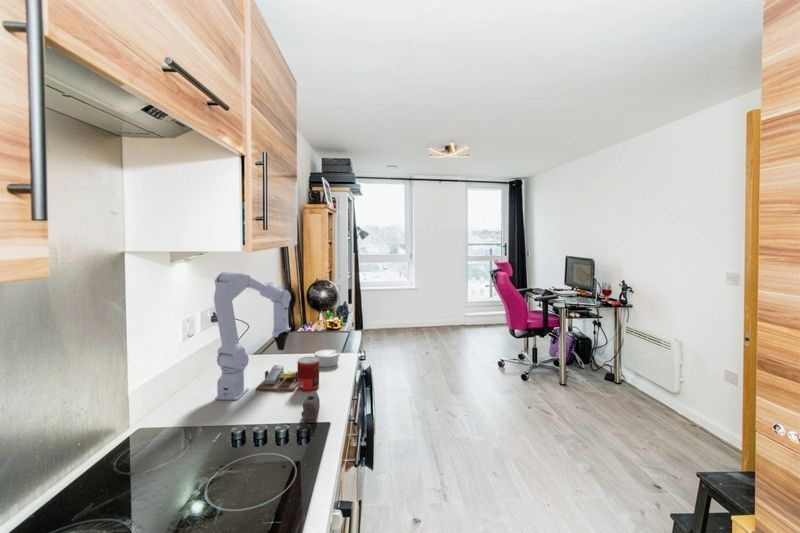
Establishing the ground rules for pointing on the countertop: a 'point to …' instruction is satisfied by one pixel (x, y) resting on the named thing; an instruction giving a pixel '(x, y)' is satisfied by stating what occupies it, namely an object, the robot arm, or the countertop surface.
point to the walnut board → (280, 384)
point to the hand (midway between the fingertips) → (281, 349)
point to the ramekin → (327, 357)
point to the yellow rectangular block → (288, 374)
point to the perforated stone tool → (311, 407)
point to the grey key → (273, 374)
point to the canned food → (308, 373)
